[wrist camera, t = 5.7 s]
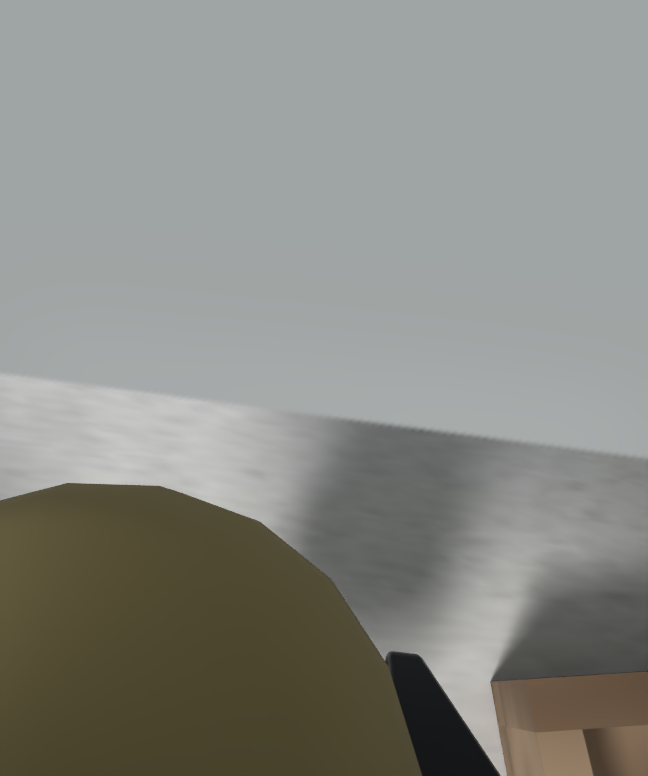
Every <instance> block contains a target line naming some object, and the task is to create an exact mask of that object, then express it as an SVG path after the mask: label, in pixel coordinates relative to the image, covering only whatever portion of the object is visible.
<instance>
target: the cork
mask: <svg viewBox="0 0 648 776" xmlns="http://www.w3.org/2000/svg"><path fill="white" fill-rule="evenodd" d="M0 776H422V774H421V770H420V767H419V764H418V761H417V757H416V754H415V751H414V748H413V744H412V741H411V738H410V735H409V731H408V728H407V725H406V722H405V718H404V715H403V712H402V709H401V706H400V702H399V699H398V696H397V693H396V689H395V686H394V683H393V680H392V676H391V673H390V670H389V667H388V665H387V664H386V662H385V661H384V659H383V658H382V656H381V655H380V653H379V652H378V650H377V648H376V647H375V645H374V644H373V642H372V641H371V639H370V638H369V636H368V635H367V633H366V632H365V630H364V629H363V627H362V626H361V624H360V623H359V621H358V619H357V618H356V616H355V615H354V613H353V612H352V610H351V609H350V607H349V606H348V604H347V603H346V601H345V600H344V598H343V597H342V595H341V594H340V592H339V590H338V589H337V587H336V586H335V584H334V583H333V581H332V580H331V579H330V578H329V577H328V576H326V575H325V574H324V573H323V572H322V571H320V570H319V569H318V568H317V567H315V566H314V565H313V564H312V563H310V562H309V561H308V560H307V559H305V558H304V557H303V556H302V555H300V554H299V553H298V552H297V551H296V550H294V549H293V548H292V547H291V546H289V545H288V544H287V543H286V542H284V541H283V540H282V539H281V538H279V537H278V536H277V535H276V534H274V533H273V532H272V531H271V530H270V529H268V528H267V527H266V526H265V525H263V524H262V523H261V522H259V521H256V520H254V519H251V518H248V517H246V516H243V515H240V514H237V513H235V512H232V511H229V510H226V509H224V508H221V507H218V506H216V505H213V504H210V503H207V502H205V501H202V500H199V499H196V498H194V497H191V496H188V495H186V494H183V493H180V492H177V491H174V490H171V489H167V488H164V487H161V486H141V485H110V484H78V483H66V484H62V485H59V486H55V487H51V488H47V489H43V490H39V491H35V492H32V493H28V494H24V495H20V496H16V497H12V498H8V499H5V500H1V501H0Z"/></svg>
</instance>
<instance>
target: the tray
mask: <svg viewBox="0 0 648 776" xmlns="http://www.w3.org/2000/svg"><path fill="white" fill-rule="evenodd" d="M490 682H491V687H492V693H493V698H494V704H495V709H496V715H497V720H498V726H499V732H500V737H501V743H502V748H503V754H504V759H505V765H506V770H507V776H648V671H642V672H626V673H611V674H596V675H581V676H566V677H551V678H536V679H520V680H505V681H490Z"/></svg>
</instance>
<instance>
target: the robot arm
mask: <svg viewBox="0 0 648 776" xmlns="http://www.w3.org/2000/svg"><path fill="white" fill-rule="evenodd" d="M385 662H386V664H387V665H388V667H389V670H390V673H391V676H392V680H393V683H394V686H395V689H396V693H397V696H398V699H399V702H400V706H401V709H402V712H403V715H404V718H405V722H406V725H407V728H408V731H409V735H410V738H411V741H412V744H413V748H414V751H415V754H416V757H417V761H418V764H419V767H420V770H421V774H422V776H500V774H499V773H498V771H497V770H496V768H495V767H494V765H493V764H492V762H491V761H490V759H489V758H488V756H487V755H486V753H485V752H484V750H483V749H482V747H481V746H480V744H479V743H478V741H477V740H476V738H475V737H474V735H473V734H472V732H471V731H470V729H469V728H468V726H467V725H466V723H465V722H464V720H463V719H462V717H461V716H460V714H459V713H458V711H457V710H456V708H455V707H454V705H453V704H452V702H451V701H450V699H449V698H448V696H447V695H446V693H445V692H444V690H443V689H442V687H441V686H440V684H439V683H438V681H437V680H436V678H435V677H434V675H433V674H432V672H431V671H430V669H429V668H428V666H427V665H426V663H425V662H424V660H423V659H422V658H421V657H420V656H419V655H417V654H411V653H403V652H394V651H391V652H389V653H388V654H387V656H386V660H385Z"/></svg>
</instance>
